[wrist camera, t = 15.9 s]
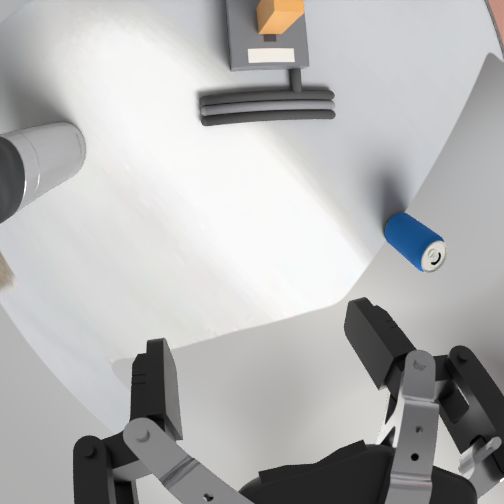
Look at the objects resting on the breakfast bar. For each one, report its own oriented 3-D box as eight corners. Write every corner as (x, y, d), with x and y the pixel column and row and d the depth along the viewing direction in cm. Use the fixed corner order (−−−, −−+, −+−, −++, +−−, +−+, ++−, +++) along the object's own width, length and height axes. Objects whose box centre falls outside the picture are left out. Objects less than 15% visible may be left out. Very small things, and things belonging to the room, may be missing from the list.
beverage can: (395, 249, 53) (430, 281, 42) (376, 232, 50) (412, 264, 40) (415, 223, 51) (454, 251, 40) (397, 204, 49) (438, 230, 38)
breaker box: (231, 71, 36) (233, 67, 32) (222, -41, 27) (223, -52, 23) (300, 69, 37) (309, 65, 33) (288, -40, 28) (295, -50, 24)
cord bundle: (201, 126, 39) (201, 126, 38) (195, 60, 34) (195, 59, 33) (333, 119, 41) (336, 119, 39) (329, 57, 36) (333, 56, 35)
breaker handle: (258, 34, 30) (274, 11, 21) (256, 8, 28) (271, -21, 20) (281, 34, 30) (304, 12, 22) (279, 8, 29) (300, -19, 20)
